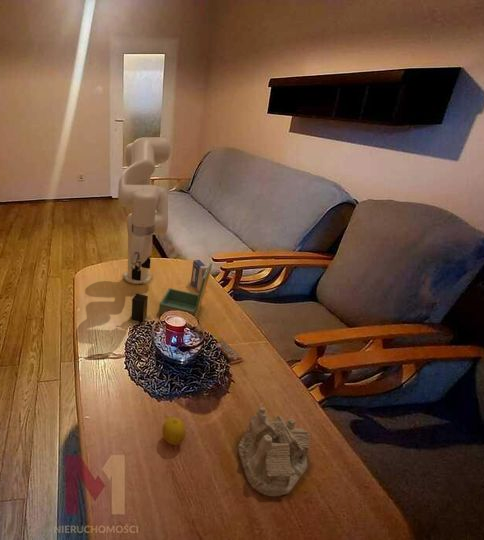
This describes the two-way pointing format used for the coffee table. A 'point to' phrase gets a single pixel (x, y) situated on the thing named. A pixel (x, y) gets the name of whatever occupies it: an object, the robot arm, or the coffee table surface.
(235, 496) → the coffee table surface
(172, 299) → the green shallow box
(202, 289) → the lid
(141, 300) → the iron block
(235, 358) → the chocolate bar
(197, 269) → the walkman
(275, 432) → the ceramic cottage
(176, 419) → the lemon
